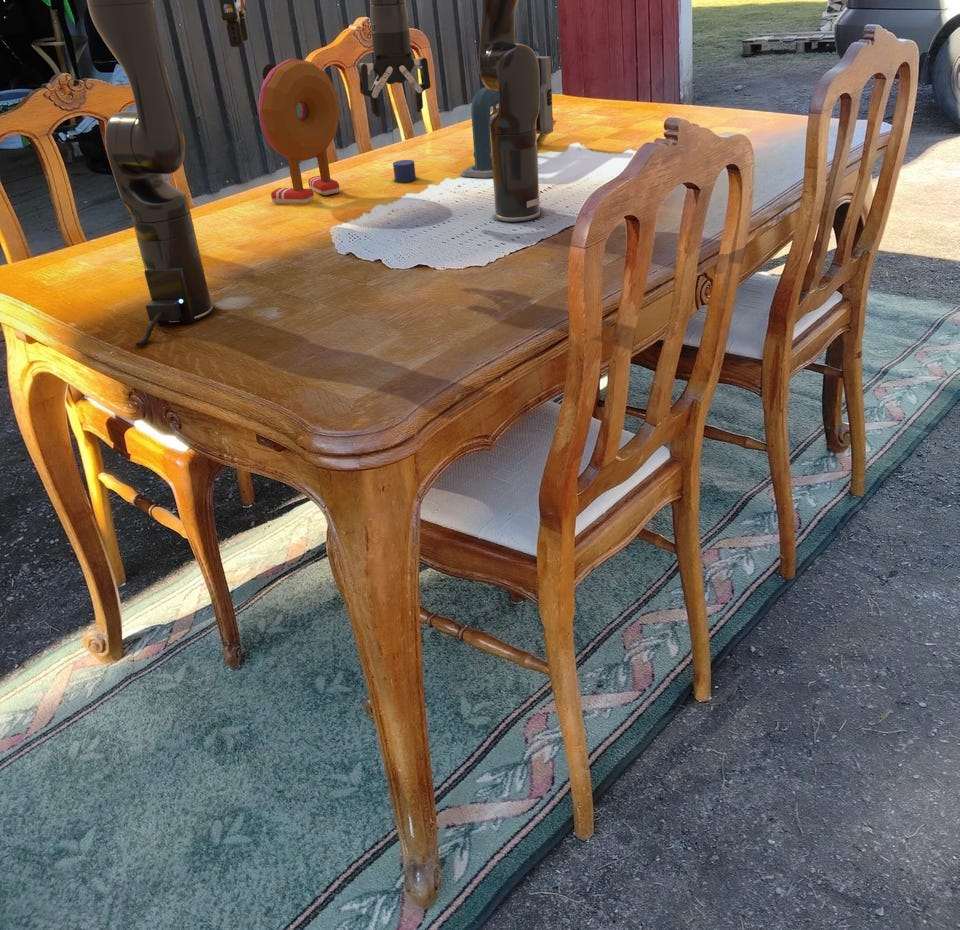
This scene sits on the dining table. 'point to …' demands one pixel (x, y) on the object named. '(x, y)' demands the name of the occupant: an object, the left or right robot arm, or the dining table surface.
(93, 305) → the dining table surface
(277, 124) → the toy
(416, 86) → the right robot arm
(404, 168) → the canister
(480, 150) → the clamp
